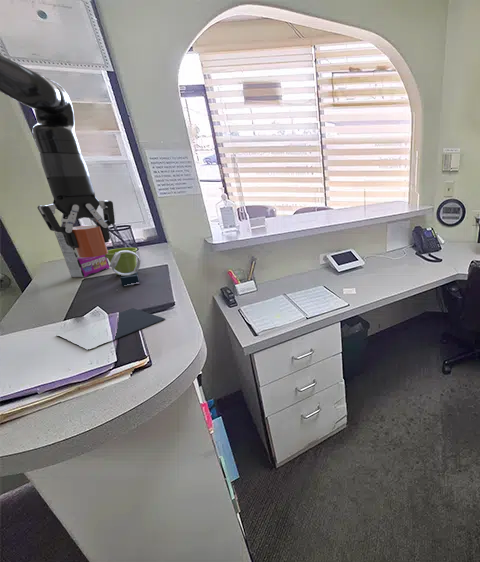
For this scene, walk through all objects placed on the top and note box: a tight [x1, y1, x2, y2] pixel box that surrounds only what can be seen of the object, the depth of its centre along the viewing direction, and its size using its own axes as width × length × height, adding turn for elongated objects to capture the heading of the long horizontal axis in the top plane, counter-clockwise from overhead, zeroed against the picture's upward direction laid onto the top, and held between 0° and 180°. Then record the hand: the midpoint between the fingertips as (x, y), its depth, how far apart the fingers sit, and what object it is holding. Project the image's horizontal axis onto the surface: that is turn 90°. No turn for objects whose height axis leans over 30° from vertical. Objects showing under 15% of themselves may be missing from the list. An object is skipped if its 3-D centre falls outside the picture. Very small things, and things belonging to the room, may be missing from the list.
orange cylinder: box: [72, 224, 109, 258], centre depth 78 cm, size 6×6×7 cm
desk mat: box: [114, 307, 166, 341], centre depth 74 cm, size 16×14×1 cm
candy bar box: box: [53, 224, 111, 278], centre depth 109 cm, size 11×5×16 cm, turn 179°
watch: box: [109, 250, 141, 287], centre depth 100 cm, size 6×8×11 cm
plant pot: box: [105, 247, 138, 276], centre depth 109 cm, size 9×9×9 cm
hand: (90, 244), depth 78 cm, fingers closed on orange cylinder, 6 cm apart
